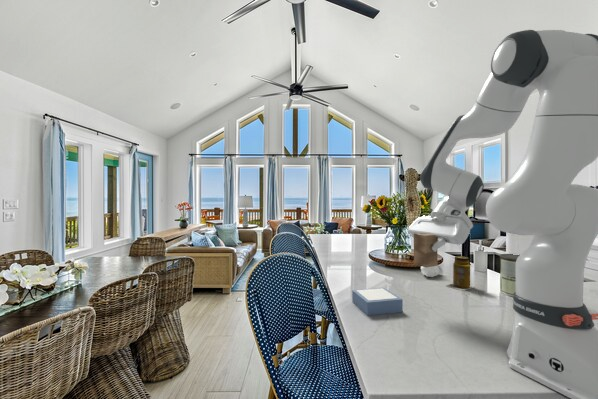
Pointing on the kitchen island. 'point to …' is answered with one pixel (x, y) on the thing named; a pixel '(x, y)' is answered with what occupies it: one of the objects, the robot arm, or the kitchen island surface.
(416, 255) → the walnut block
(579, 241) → the robot arm
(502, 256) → the coffee can
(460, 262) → the condiment
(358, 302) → the pedestal
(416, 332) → the kitchen island surface
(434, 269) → the white rounded piece
